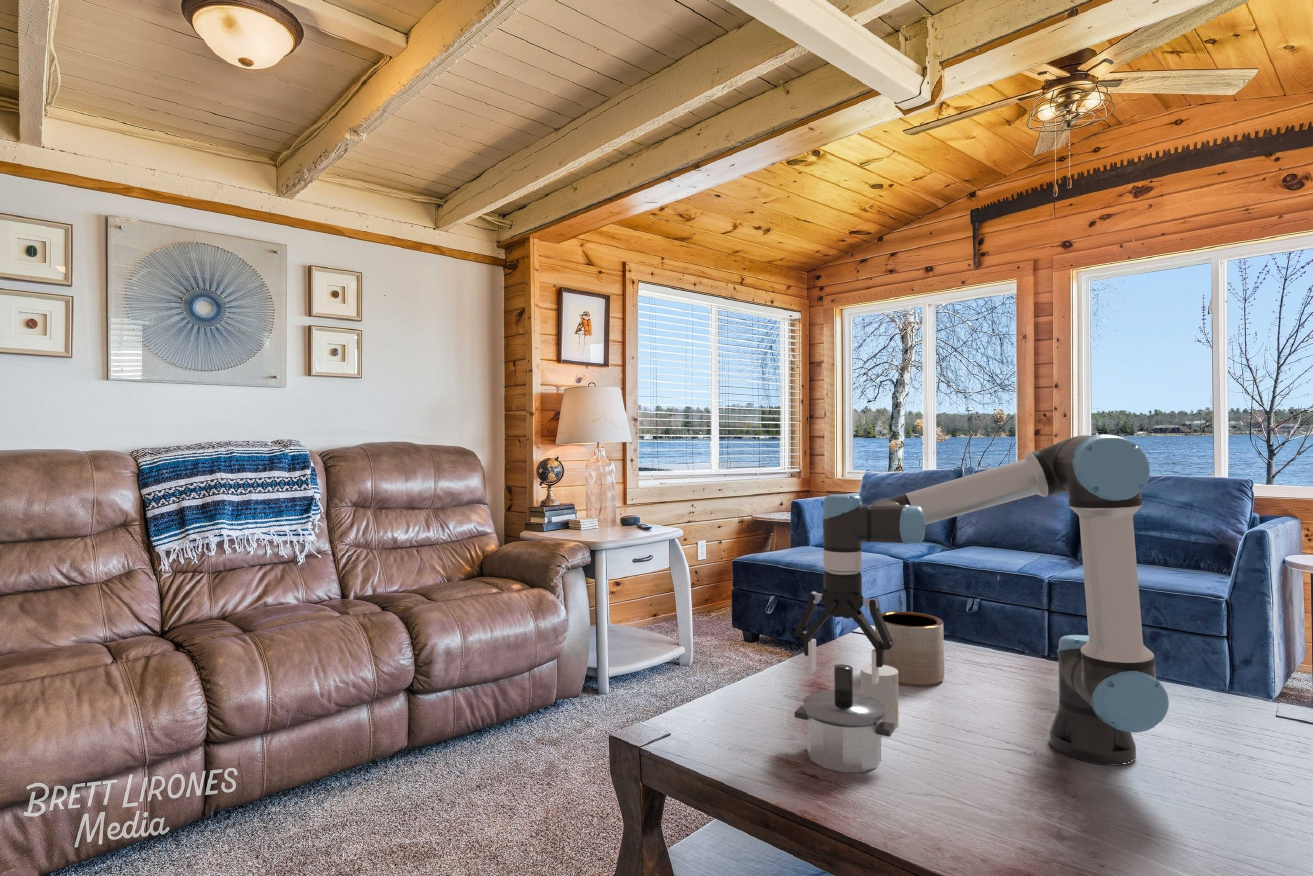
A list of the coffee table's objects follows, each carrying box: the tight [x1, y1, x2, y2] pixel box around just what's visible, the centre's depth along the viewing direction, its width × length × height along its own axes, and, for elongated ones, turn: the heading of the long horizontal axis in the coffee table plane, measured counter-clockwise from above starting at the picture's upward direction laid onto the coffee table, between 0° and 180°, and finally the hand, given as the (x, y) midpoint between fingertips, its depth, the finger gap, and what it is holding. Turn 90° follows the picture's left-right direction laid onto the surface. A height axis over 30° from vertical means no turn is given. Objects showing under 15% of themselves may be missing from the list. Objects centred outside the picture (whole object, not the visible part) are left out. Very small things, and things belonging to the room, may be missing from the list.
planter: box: [874, 611, 945, 687], centre depth 192 cm, size 18×18×16 cm
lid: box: [802, 663, 885, 728], centre depth 144 cm, size 16×16×9 cm
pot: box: [794, 705, 895, 773], centre depth 144 cm, size 19×14×9 cm
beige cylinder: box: [860, 663, 900, 729], centre depth 161 cm, size 8×8×12 cm
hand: (843, 677), depth 144 cm, fingers open, 12 cm apart
